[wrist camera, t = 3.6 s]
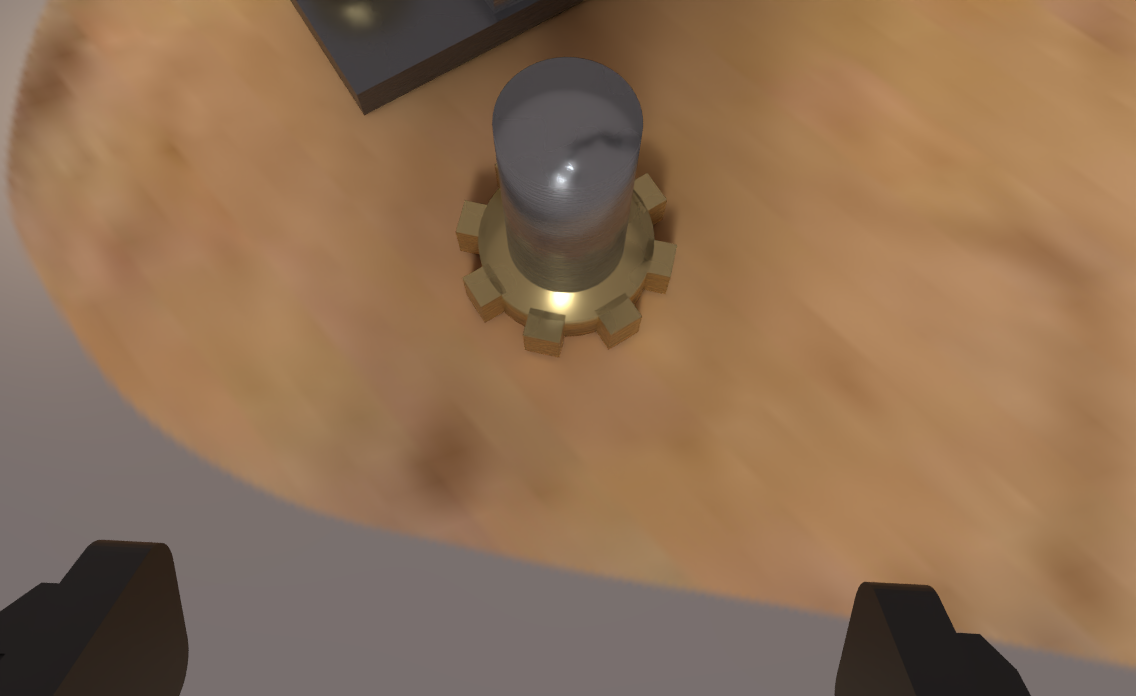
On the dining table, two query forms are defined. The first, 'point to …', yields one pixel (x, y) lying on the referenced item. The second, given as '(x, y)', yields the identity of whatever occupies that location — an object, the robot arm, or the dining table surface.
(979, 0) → the dining table surface
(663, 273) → the gear
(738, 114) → the dining table surface
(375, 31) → the tray
